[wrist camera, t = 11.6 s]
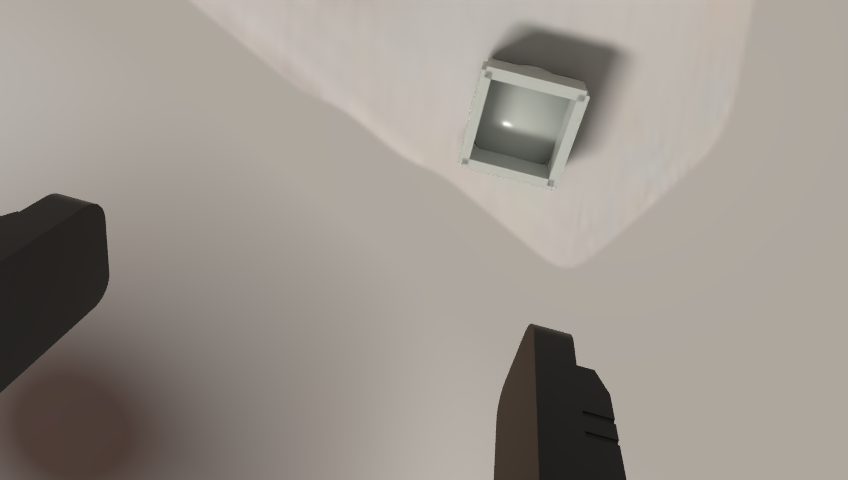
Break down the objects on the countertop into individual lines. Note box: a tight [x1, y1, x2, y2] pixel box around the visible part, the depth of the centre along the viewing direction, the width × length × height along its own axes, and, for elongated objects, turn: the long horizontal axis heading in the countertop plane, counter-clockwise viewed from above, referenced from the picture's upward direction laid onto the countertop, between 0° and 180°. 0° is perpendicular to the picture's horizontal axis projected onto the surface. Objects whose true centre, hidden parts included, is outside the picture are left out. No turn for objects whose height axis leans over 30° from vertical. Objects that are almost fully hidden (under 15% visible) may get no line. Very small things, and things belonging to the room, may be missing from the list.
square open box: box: [458, 58, 590, 190], centre depth 43 cm, size 8×8×4 cm
